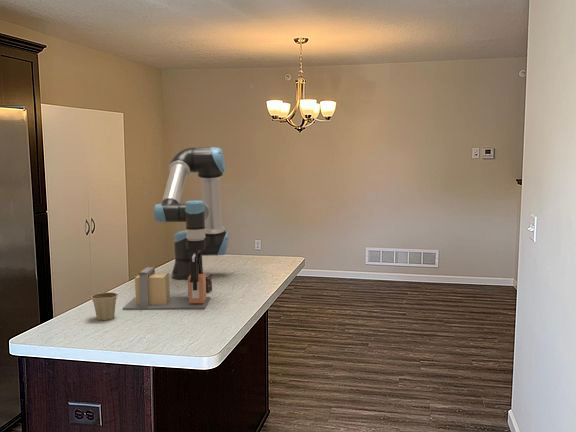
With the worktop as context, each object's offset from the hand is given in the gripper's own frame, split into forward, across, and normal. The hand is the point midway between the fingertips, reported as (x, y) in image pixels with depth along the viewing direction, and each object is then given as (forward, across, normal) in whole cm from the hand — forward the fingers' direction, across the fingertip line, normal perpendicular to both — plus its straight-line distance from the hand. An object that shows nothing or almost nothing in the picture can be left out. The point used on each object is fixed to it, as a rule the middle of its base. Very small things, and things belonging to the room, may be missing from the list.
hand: (197, 295), depth 224 cm
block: (+2, 0, 0) cm, 2 cm away
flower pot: (+4, +19, -31) cm, 37 cm away
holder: (+4, 0, -12) cm, 13 cm away
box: (+4, -21, -1) cm, 21 cm away
